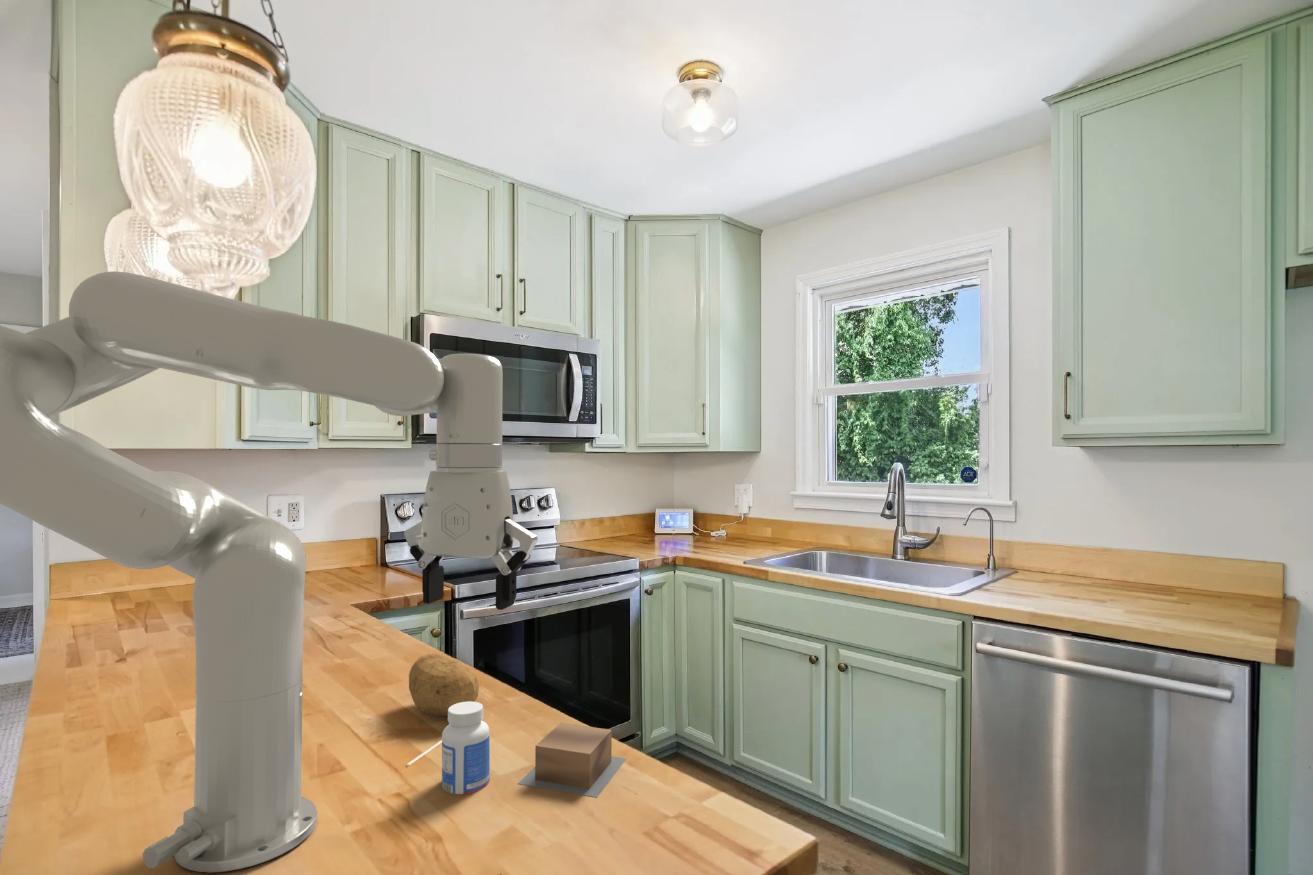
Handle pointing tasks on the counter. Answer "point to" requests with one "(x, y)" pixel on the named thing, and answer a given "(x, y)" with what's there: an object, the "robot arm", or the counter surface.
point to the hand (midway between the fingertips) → (468, 604)
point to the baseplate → (592, 792)
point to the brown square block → (573, 755)
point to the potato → (441, 683)
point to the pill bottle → (465, 749)
